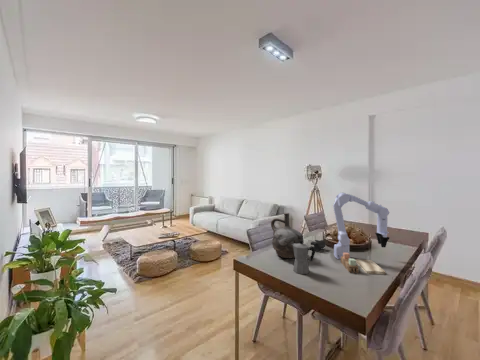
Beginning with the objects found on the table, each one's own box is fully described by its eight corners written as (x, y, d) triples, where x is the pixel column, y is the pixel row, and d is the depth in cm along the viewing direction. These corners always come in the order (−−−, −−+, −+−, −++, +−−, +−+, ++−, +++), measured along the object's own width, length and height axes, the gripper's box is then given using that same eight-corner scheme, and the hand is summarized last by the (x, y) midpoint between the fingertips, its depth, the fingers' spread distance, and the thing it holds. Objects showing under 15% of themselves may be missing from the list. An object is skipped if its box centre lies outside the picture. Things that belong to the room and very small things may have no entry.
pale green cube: (350, 265, 133) (350, 260, 133) (348, 263, 136) (348, 258, 136) (355, 265, 132) (355, 260, 132) (353, 263, 135) (353, 258, 135)
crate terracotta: (344, 258, 143) (344, 254, 143) (343, 257, 146) (343, 252, 146) (349, 259, 143) (349, 254, 143) (347, 257, 146) (347, 252, 146)
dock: (366, 273, 130) (366, 270, 130) (355, 261, 148) (355, 259, 148) (385, 274, 129) (385, 271, 129) (371, 262, 147) (371, 259, 147)
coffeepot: (286, 269, 135) (287, 239, 135) (295, 265, 142) (295, 236, 141) (310, 278, 124) (310, 245, 124) (319, 273, 131) (319, 242, 130)
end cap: (319, 252, 165) (319, 243, 165) (310, 250, 171) (310, 241, 171) (325, 249, 172) (325, 240, 172) (316, 247, 177) (316, 238, 177)
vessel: (263, 257, 155) (263, 214, 155) (274, 248, 175) (274, 209, 174) (299, 264, 144) (299, 217, 143) (306, 253, 163) (307, 212, 162)
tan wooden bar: (358, 273, 131) (358, 266, 131) (349, 273, 132) (349, 266, 132) (348, 262, 147) (348, 256, 147) (340, 262, 147) (340, 256, 147)
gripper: (392, 227, 142) (392, 249, 142) (385, 223, 155) (385, 242, 156) (379, 227, 144) (379, 248, 144) (374, 222, 158) (373, 241, 158)
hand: (381, 245), depth 150 cm, fingers open, 7 cm apart
